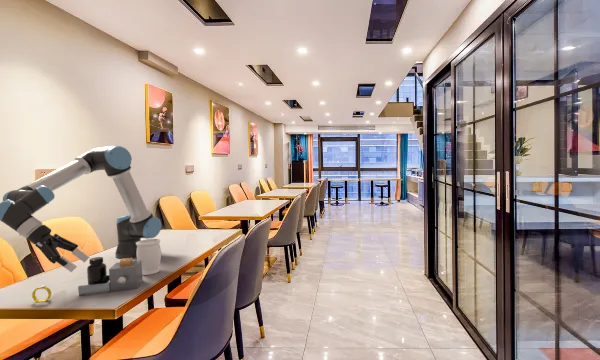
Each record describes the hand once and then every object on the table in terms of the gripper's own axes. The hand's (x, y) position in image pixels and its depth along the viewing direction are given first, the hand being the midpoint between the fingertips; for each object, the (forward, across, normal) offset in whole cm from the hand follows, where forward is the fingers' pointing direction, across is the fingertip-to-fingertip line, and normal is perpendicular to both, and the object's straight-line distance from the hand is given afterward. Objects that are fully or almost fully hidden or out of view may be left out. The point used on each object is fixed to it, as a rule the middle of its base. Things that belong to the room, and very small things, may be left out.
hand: (81, 264), depth 136 cm
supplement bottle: (+11, 0, -4) cm, 12 cm away
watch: (0, +7, -16) cm, 17 cm away
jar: (+24, -16, +8) cm, 30 cm away
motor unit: (+16, +1, 0) cm, 16 cm away
